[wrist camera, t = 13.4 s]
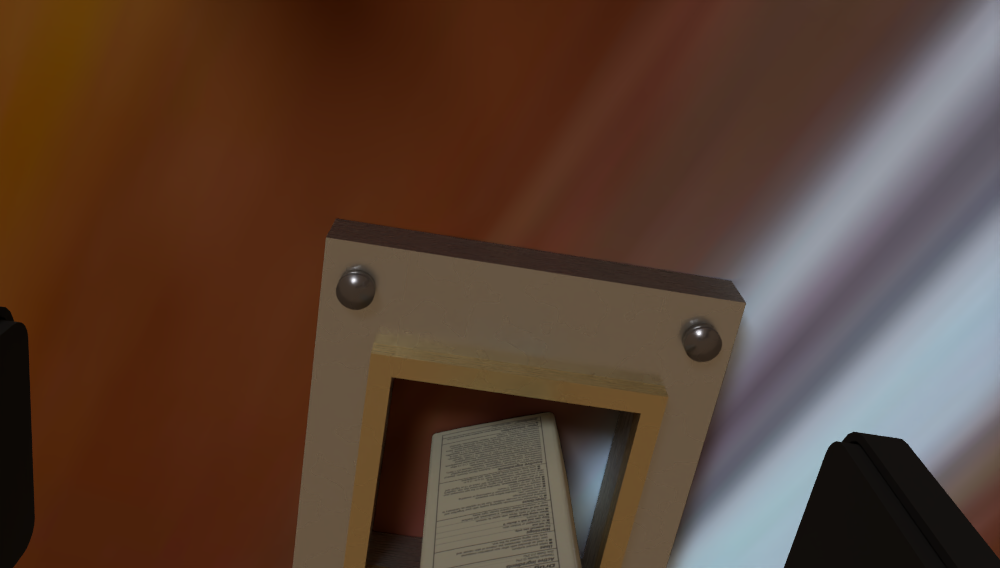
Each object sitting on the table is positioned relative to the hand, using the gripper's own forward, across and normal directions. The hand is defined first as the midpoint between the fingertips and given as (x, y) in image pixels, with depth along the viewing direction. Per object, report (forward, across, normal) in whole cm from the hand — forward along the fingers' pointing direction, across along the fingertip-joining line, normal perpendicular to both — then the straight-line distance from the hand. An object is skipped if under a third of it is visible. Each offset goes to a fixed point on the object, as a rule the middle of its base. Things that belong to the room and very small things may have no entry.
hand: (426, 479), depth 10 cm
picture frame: (+28, -4, +18) cm, 34 cm away
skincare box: (+28, -4, +18) cm, 34 cm away
